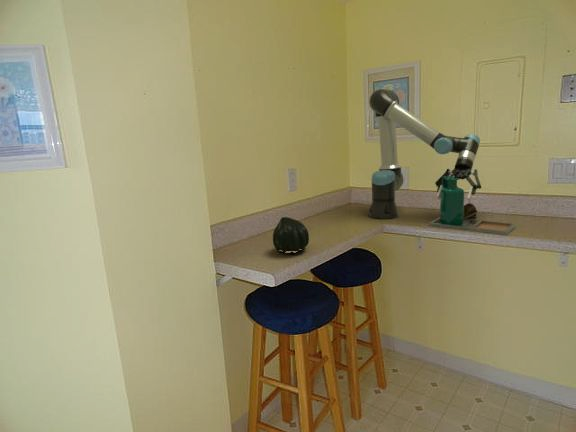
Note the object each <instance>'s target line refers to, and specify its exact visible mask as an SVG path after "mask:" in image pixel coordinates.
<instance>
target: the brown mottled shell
mask: <svg viewBox="0 0 576 432" xmlns="http://www.w3.org/2000/svg"><path fill="white" fill-rule="evenodd" d="M477 214H478V210H477V207H476V206H475V205H474V204H472V202H468V203H466V204H464V212H463V218H465V219H470V218H472V217H474V218H477Z"/></svg>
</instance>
